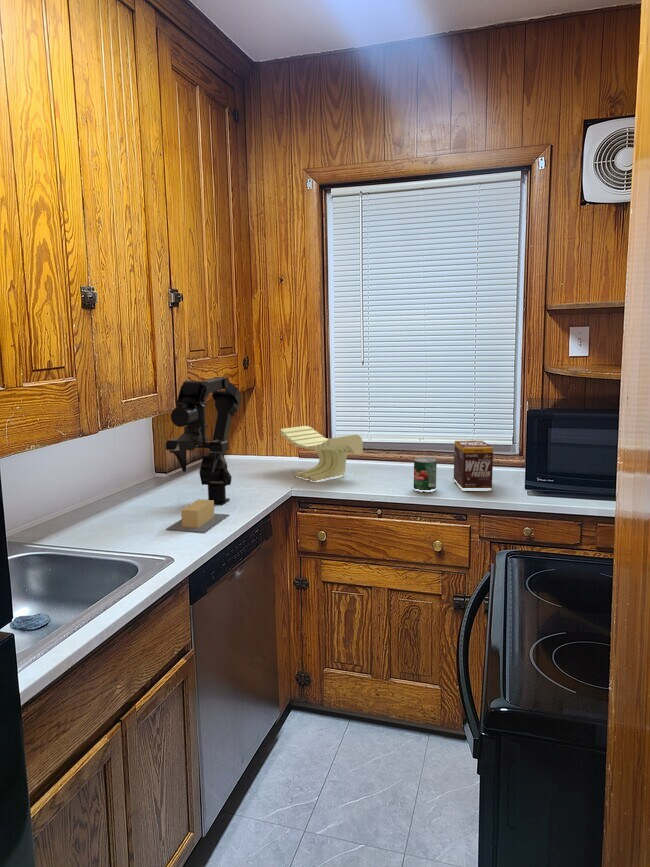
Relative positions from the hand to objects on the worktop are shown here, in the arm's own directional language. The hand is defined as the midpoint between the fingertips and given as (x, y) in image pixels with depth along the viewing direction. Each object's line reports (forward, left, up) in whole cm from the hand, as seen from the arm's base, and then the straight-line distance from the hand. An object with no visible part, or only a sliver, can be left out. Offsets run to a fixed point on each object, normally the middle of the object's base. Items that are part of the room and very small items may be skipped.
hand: (198, 472), depth 192 cm
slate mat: (+9, +4, -13) cm, 16 cm away
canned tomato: (-44, +65, -13) cm, 80 cm away
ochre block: (+3, +4, -10) cm, 11 cm away
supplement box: (-53, +81, -13) cm, 98 cm away
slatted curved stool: (-56, +24, -13) cm, 62 cm away
